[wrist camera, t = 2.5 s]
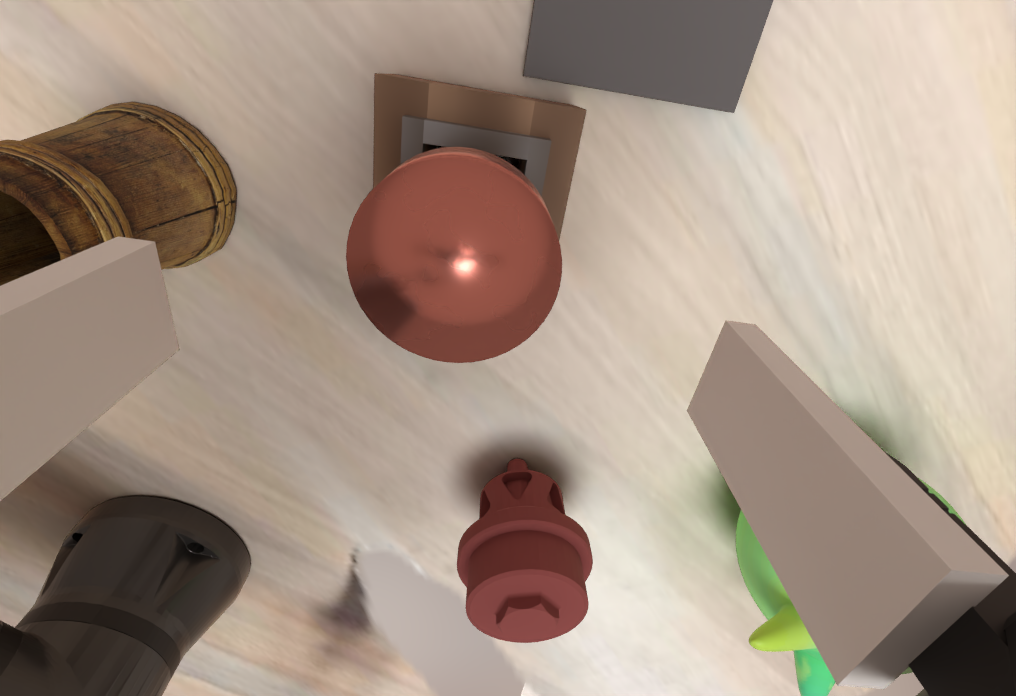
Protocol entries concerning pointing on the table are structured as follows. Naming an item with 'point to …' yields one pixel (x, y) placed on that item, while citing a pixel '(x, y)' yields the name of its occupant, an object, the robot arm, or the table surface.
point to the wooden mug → (113, 190)
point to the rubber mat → (649, 47)
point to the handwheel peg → (455, 256)
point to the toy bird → (785, 612)
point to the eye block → (478, 131)
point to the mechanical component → (524, 560)
